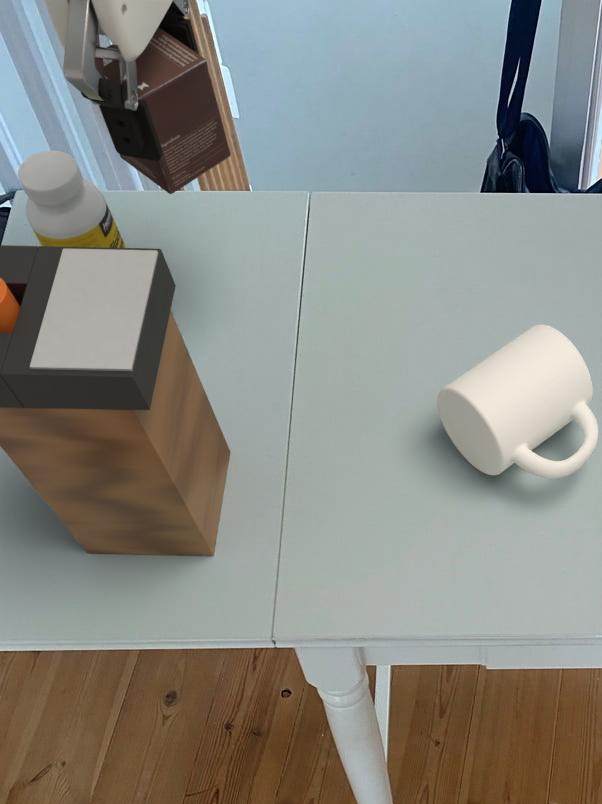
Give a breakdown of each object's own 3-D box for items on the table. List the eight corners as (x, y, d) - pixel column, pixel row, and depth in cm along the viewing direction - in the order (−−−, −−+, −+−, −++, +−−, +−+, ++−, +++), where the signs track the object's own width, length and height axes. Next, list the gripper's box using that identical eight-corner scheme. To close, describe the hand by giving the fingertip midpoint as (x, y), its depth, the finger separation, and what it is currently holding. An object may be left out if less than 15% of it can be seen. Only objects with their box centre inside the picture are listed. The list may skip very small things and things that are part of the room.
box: (234, 158, 66) (209, 59, 59) (170, 198, 64) (137, 100, 57) (182, 120, 67) (152, 19, 61) (118, 158, 66) (80, 58, 59)
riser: (87, 553, 69) (-33, 407, 53) (111, 448, 73) (6, 282, 57) (213, 556, 69) (133, 410, 53) (230, 451, 73) (160, 285, 57)
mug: (437, 433, 74) (434, 368, 67) (524, 372, 77) (530, 304, 70) (533, 525, 71) (540, 468, 63) (621, 458, 73) (637, 396, 66)
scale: (-49, 406, 53) (-80, 370, 50) (-9, 281, 57) (-35, 241, 54) (150, 410, 53) (131, 374, 50) (176, 285, 57) (160, 245, 54)
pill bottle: (132, 310, 79) (79, 200, 69) (60, 309, 79) (-3, 198, 69) (144, 257, 82) (95, 143, 71) (75, 256, 82) (15, 141, 71)
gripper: (59, -285, 50) (154, 33, 66) (-78, -123, 43) (65, 189, 59) (184, -268, 50) (249, 47, 66) (67, -103, 43) (172, 206, 59)
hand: (162, 113), depth 62 cm, fingers closed on box, 8 cm apart
